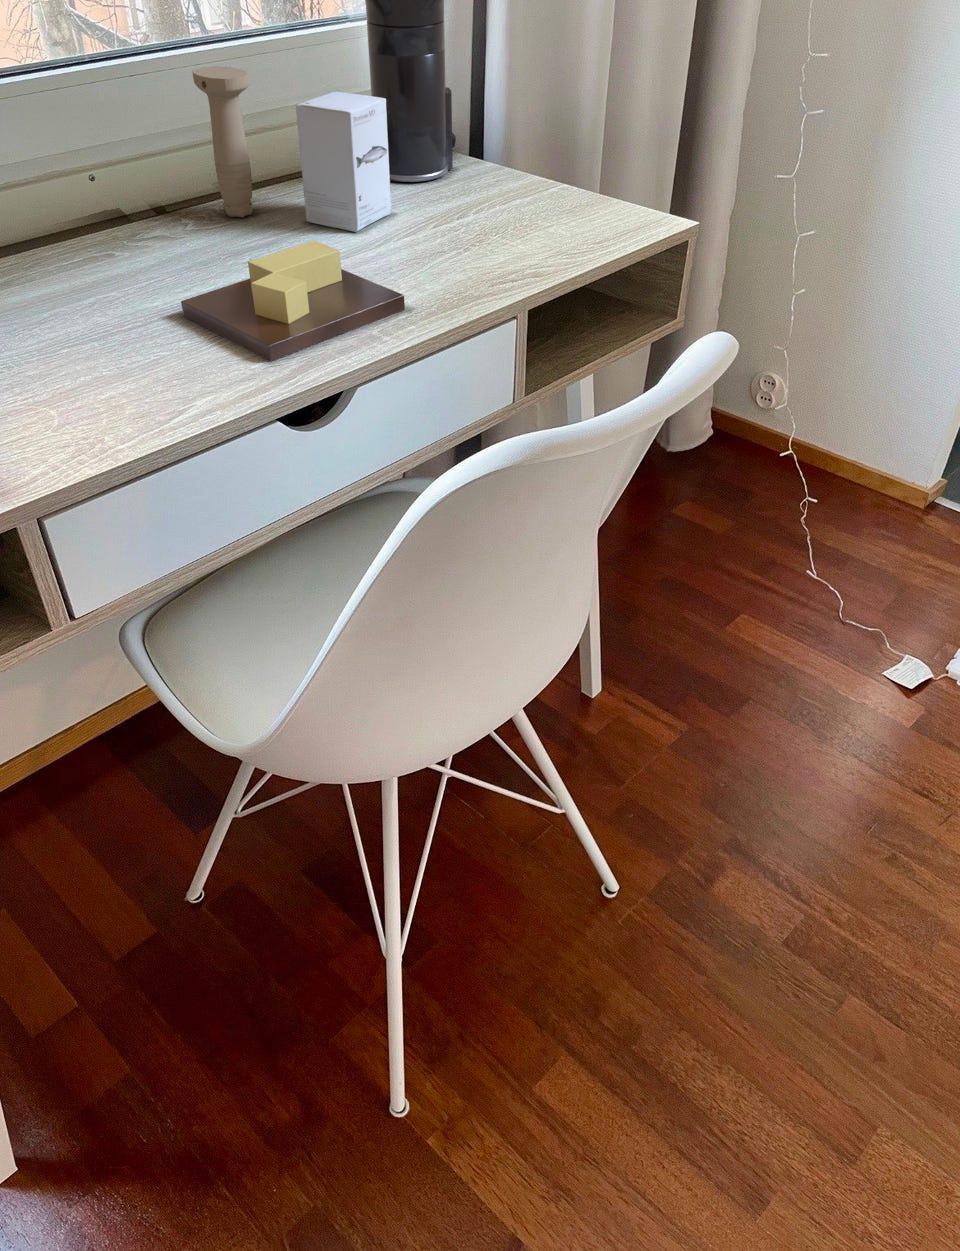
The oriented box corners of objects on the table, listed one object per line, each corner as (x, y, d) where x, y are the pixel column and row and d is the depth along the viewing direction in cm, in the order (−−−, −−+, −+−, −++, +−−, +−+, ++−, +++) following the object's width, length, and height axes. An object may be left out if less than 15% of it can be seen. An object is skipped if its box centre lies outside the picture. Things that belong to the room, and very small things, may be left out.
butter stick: (316, 269, 105) (313, 240, 103) (342, 280, 103) (339, 250, 101) (251, 292, 100) (247, 261, 99) (277, 303, 98) (273, 272, 96)
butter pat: (276, 303, 98) (272, 272, 96) (309, 312, 97) (306, 281, 95) (255, 314, 96) (250, 282, 95) (288, 324, 95) (284, 292, 93)
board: (315, 271, 109) (313, 257, 108) (405, 309, 101) (404, 294, 100) (183, 316, 100) (180, 300, 99) (271, 361, 92) (268, 345, 91)
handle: (241, 225, 119) (222, 80, 110) (205, 213, 122) (183, 71, 113) (273, 214, 122) (257, 73, 113) (237, 203, 125) (218, 64, 116)
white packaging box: (358, 233, 117) (349, 112, 109) (304, 222, 120) (292, 103, 112) (393, 214, 122) (387, 96, 114) (341, 204, 125) (332, 88, 117)
